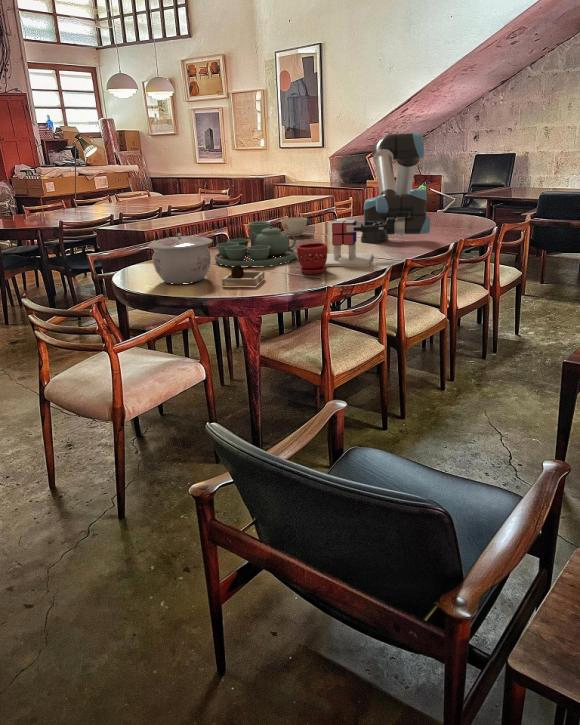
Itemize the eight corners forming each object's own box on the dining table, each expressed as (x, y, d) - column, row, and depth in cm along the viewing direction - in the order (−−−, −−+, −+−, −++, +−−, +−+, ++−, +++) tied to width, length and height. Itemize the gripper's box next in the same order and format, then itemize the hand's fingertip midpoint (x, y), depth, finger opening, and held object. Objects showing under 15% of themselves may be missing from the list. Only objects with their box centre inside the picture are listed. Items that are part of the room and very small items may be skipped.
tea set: (206, 258, 299) (203, 226, 293) (279, 250, 312) (277, 218, 306) (229, 272, 264) (225, 236, 258) (309, 262, 278) (308, 227, 272)
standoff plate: (324, 256, 288) (323, 239, 285) (372, 256, 282) (372, 238, 279) (315, 266, 266) (314, 248, 263) (367, 266, 261) (367, 247, 258)
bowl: (278, 235, 357) (277, 218, 354) (303, 233, 361) (302, 216, 358) (286, 239, 343) (285, 221, 339) (311, 236, 347) (311, 219, 344)
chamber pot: (180, 292, 233) (173, 240, 226) (139, 284, 250) (132, 235, 243) (230, 278, 253) (226, 229, 245) (189, 271, 270) (184, 226, 262)
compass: (243, 285, 239) (241, 268, 236) (231, 283, 244) (229, 265, 241) (258, 282, 243) (256, 264, 241) (246, 279, 249) (244, 262, 246)
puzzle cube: (353, 245, 265) (353, 222, 262) (332, 245, 268) (331, 223, 264) (356, 241, 274) (356, 219, 271) (335, 241, 277) (335, 220, 273)
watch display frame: (233, 279, 249) (232, 271, 248) (264, 279, 246) (264, 271, 245) (222, 287, 237) (221, 279, 235) (255, 287, 234) (254, 279, 232)
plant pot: (322, 267, 263) (322, 241, 259) (331, 273, 251) (330, 245, 247) (294, 270, 260) (293, 243, 256) (302, 276, 248) (301, 248, 244)
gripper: (393, 238, 253) (344, 239, 258) (397, 230, 275) (352, 230, 280) (393, 221, 250) (344, 222, 255) (397, 213, 273) (352, 214, 278)
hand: (348, 226), depth 268 cm, fingers open, 13 cm apart
